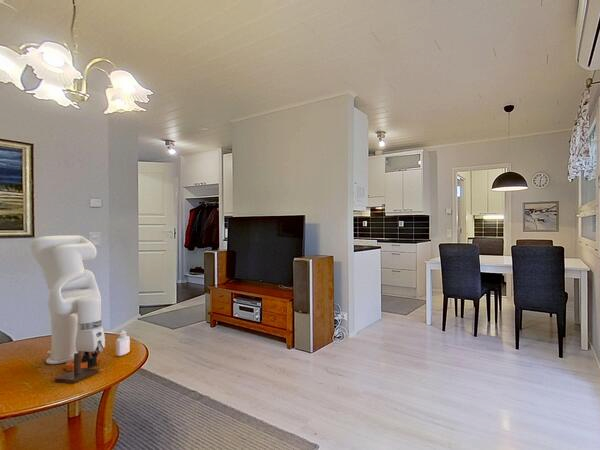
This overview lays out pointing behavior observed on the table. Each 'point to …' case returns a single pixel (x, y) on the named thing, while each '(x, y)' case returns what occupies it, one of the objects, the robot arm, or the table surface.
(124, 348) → the eye dropper bottle
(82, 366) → the ring
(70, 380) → the post
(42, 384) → the table surface
